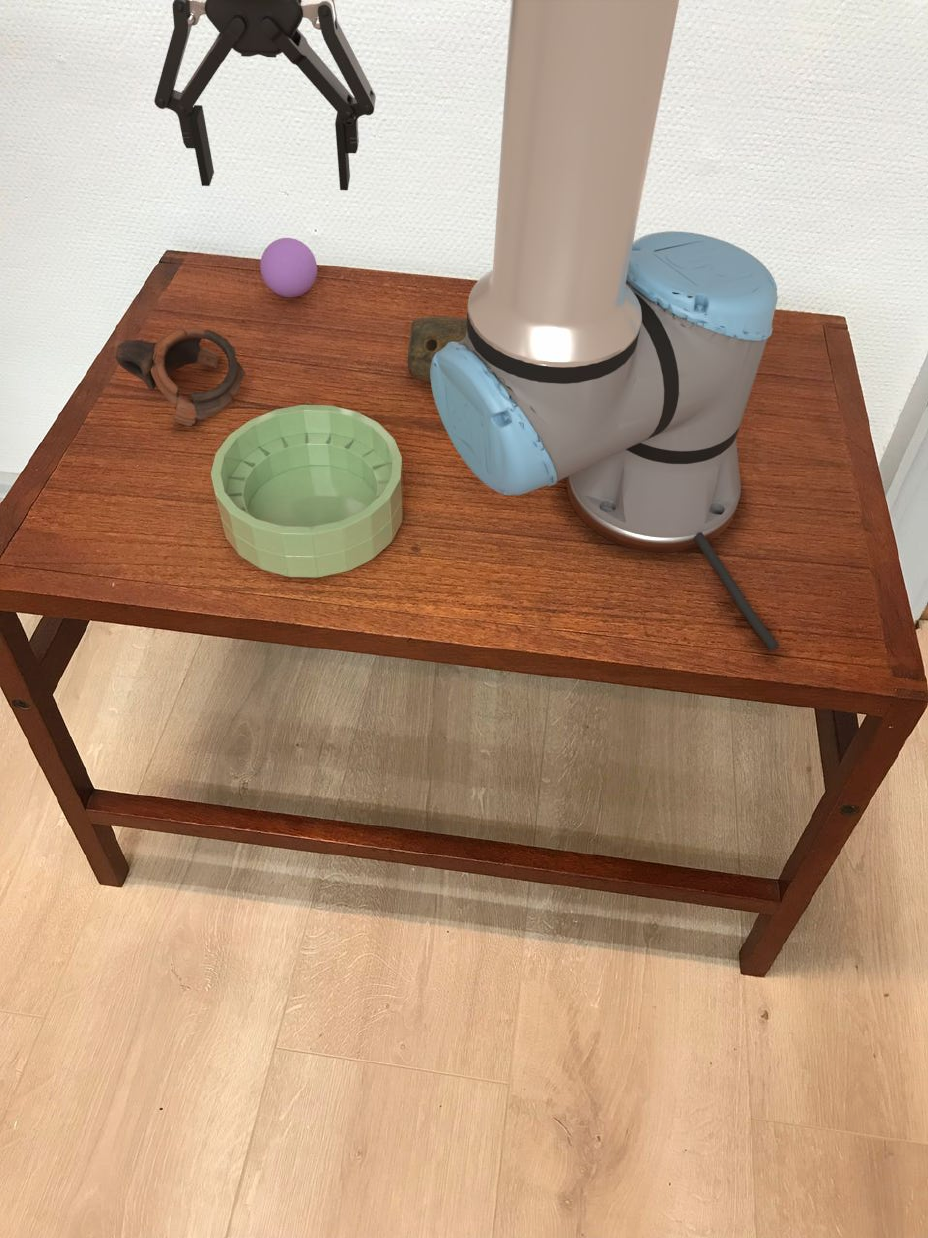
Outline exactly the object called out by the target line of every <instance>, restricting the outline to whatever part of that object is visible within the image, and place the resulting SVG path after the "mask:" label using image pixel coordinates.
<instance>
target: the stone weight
mask: <svg viewBox="0 0 928 1238" xmlns="http://www.w3.org/2000/svg"><path fill="white" fill-rule="evenodd" d="M466 324H467V318H465V317H453V316H438V315H437V316H425V317H418V318H414V320H413V321H412V322H411V327H410V334H409V341H408V350H407V369H408V373H409V375H410V377H412V378H414V379H416V380H419V381H422V382H425V383H429V384H431V380H430V368H431V363H432V359H433V357H434V355H435V354H436V353H437V352H438V351H440V350H441V349H443V348H444V347H445V346H446V345H447V344H448V343H449V342H459V341H461V340H463V339H464V338H465V336H466V329H467V325H466Z"/></svg>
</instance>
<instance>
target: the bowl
mask: <svg viewBox="0 0 928 1238" xmlns="http://www.w3.org/2000/svg"><path fill="white" fill-rule="evenodd" d="M403 472H404V467H403V456H402V454H401V452H400V449H399V446H398V444H397V442H396V440H395V438H394V437H393V436H392V435H391V434H390V433H389V432H388V430H387V429H386V428H384V427H383V426H382V425H381V424H380V423H379V422H378V421H376V420H374V419H373V418H371V417H369V416H366V415H364V414H362V413H361V412H359V411H357V410H351V409H348V408H343V407H338V406H335V405H330V404H329V405H328V404H326V405H325V404H298V405H295V406H289V407H282V408H277V409H273V410H271V411H269V412H266V413H264V414H262V415H258V416H257V417H254V418H252V419H250V420H248V421H246V422H245V423H243V424H242V425H241V426H240V427H238V428H237V429H235V430H234V431H233V432H231V433H230V434H229V435H228V436H227V438H226V439H225V440H224V441H223V443H222V444H221V446H220V447H219V448H218V450H217V451H216V452H215V455H214V459H213V463H212V467H211V471H210V478H211V482H212V488H213V492H214V495H215V499H216V500H215V501H216V504H217V508H218V512H219V517H220V520H221V524H222V528H223V532H224V536H225V539H226V540H227V541H228V543H229V544H230V545H231V547H232V548H233V549H234V551H235V552H236V553H237V554H238V556H239V557H241V558H243V559H244V560H246V561H247V562H248V563H251V565H254V566H255V567H257V568H258V569H260V570H262V571H265V572H269V573H273V574H277V575H280V576H283V577H287V578H288V577H289V578H313V579H314V578H322V577H327V576H332V575H337V574H341V573H346V572H349V571H351V570H354V569H355V568H357V567H360V566H362V565H364V564H365V563H368V562H369V561H371V560H374V559H375V558H376V557H377V556H378V555H379V554H381V552H382V551H383V550H385V549H386V548H387V547H388V546H389V545H390V544H391V543H392V542H393V541H394V539H395V537H396V535H397V533H398V530H399V529H400V527H401V525H402V523H403V519H404V517H403V516H404V505H405V499H404V498H405V497H404V473H403Z"/></svg>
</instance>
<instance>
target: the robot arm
mask: <svg viewBox="0 0 928 1238" xmlns="http://www.w3.org/2000/svg"><path fill="white" fill-rule="evenodd" d="M679 4H680V0H510V4H509V5H510V7H509V21H508V35H507V50H506V66H505V81H504V97H503V109H502V125H501V141H500V155H499V170H498V186H497V187H498V188H497V200H496V214H495V215H496V217H495V231H494V244H493V245H494V246H493V259H492V260H493V261H492V269H491V270H490V271H488V272H486V273H485V274H484V275H482V276H481V277H480V278H479V279H477V282H475V284H474V285H473V286H472V288H471V290H470V293H469V295H468V298H467V308H466V319H467V324H466V325H467V329H466V336H465V338H464V339H463V340H461V341H459V342H449V343H448V344H447V345H446V346H445V347H444V348H443V349H441V350H440V351H438V352H437V353H436V354H435V355H434V357H433V359H432V363H431V368H430V380H431V383H430V386H431V392H432V395H433V396H432V397H433V400H434V404H435V407H436V410H437V413H438V415H439V417H440V420H441V423H442V426H443V427H444V429H445V431H446V433H447V436H448V437H449V439H450V441H451V443H452V445H453V446H454V448H455V450H456V451H457V453H458V454H459V455H460V457H461V459H462V461H463V462H464V463H465V465H466V466H467V467H468V469H469V470H470V471H471V472H472V473H473V475H475V477H477V479H479V481H480V482H482V483H483V484H484V485H485V486H486V487H488V488H490V489H491V490H492V491H494V492H496V493H498V494H501V495H504V496H522V495H525V494H527V493H530V492H534V491H536V490H539V489H542V488H544V487H551V486H554V485H556V484H557V482H560V481H561V480H563V479H565V478H567V479H566V491H567V496H568V500H569V502H570V504H571V506H572V508H573V510H574V512H575V513H576V515H577V516H578V517H579V518H580V519H581V521H582V522H583V523H584V524H585V525H587V527H589V529H591V530H593V531H594V532H595V533H597V534H598V535H599V536H601V537H602V538H605V539H607V540H609V541H610V542H613V543H615V544H617V545H620V546H623V547H625V548H629V549H632V550H636V551H641V552H647V553H660V554H661V553H666V554H667V553H678V552H685V551H689V550H693V549H696V548H699V549H700V550H701V552H702V553H703V556H705V558H706V559H707V561H708V562H709V564H710V565H711V567H712V569H713V570H714V571H715V573H716V575H717V576H718V577H719V580H720V581H721V582H722V584H723V585H724V587H725V589H726V590H727V592H728V593H729V595H730V596H731V598H732V599H733V601H734V603H735V604H736V606H737V608H738V609H739V610H740V612H741V614H742V616H744V617H745V619H746V621H747V623H749V624H748V625H750V626H751V628H752V629H753V631H754V632H755V633H756V635H757V636H758V637H759V639H761V641H762V642H763V644H764V645H765V646H766V647H767V649H769V650H768V651H770V652H774V651H775V650H777V649H778V648H779V647H780V644H779V642H778V641H777V640H776V639H775V637H774V636H773V635H772V634H771V632H770V631H769V629H767V627H766V626H765V625H764V623H763V622H762V620H761V619H760V618H759V617H758V615H757V614H756V612H755V611H754V609H753V607H752V606H751V605H750V603H749V602H748V600H747V599H746V597H745V596H744V594H743V592H742V590H741V589H740V588H739V586H738V585H737V583H736V581H735V580H734V578H733V577H732V575H731V573H730V572H729V571H728V570H727V568H726V566H725V565H724V563H723V561H722V559H720V557H719V556H718V554H717V553H716V551H715V549H714V548H713V547H712V545H711V544H710V542H712V541H713V540H715V539H717V538H718V537H720V536H721V534H722V533H724V532H725V531H726V529H727V528H728V527H729V526H730V525H731V523H732V521H733V518H734V516H735V513H736V510H737V508H738V504H739V502H740V498H741V493H742V481H741V474H740V473H741V472H740V464H739V463H740V462H739V452H738V442H737V436H738V433H739V430H740V426H741V425H742V424H741V423H742V420H743V418H744V415H745V411H746V408H747V405H748V402H749V399H750V396H751V393H752V390H753V386H754V384H755V380H756V377H757V374H758V370H759V367H760V364H761V360H762V358H763V355H764V351H765V348H766V345H767V342H768V339H770V337H771V336H772V334H773V328H774V327H773V321H774V317H775V312H776V308H777V304H778V297H779V296H778V287H777V283H776V281H775V278H774V277H773V275H772V273H771V272H770V270H769V268H767V267H766V266H765V264H763V263H762V261H760V260H759V259H758V258H756V257H755V256H754V255H753V254H751V253H750V252H748V251H747V250H745V249H743V248H741V247H739V246H737V245H735V244H733V243H730V242H729V241H725V240H723V239H720V238H717V237H713V236H709V235H705V234H701V233H697V232H690V231H675V230H674V231H673V230H669V231H658V232H652V233H649V234H646V235H645V234H644V235H643V236H641V237H639V238H638V239H636V240H635V237H636V230H637V225H638V219H639V214H640V208H641V205H642V204H641V203H642V198H643V194H644V189H645V188H644V187H645V182H646V177H647V172H648V167H649V162H650V156H651V152H652V146H653V141H654V136H655V130H656V125H657V120H658V116H659V115H658V114H659V109H660V105H661V99H662V93H663V89H664V83H665V79H666V78H665V77H666V73H667V69H668V62H669V57H670V51H671V47H672V42H673V35H674V30H675V25H676V20H677V14H678V10H679ZM171 6H172V7H171V8H172V19H173V30H172V35H171V37H170V41H169V45H168V48H167V53H166V56H165V60H164V63H163V66H162V71H161V74H160V77H159V82H158V84H157V88H156V92H155V96H154V102H153V103H154V105H155V106H156V107H157V108H158V109H160V110H164V109H168V110H170V111H172V112H174V113H175V114H176V116H177V117H178V122H179V123H178V124H179V128H180V132H181V138H182V143H183V145H184V146H185V148H186V149H194V151H195V157H196V163H197V168H198V173H199V178H200V182H201V183H200V184H201V187H210V185H211V183H212V180H213V176H214V174H215V169H214V164H213V158H212V153H211V147H210V141H209V136H208V130H207V125H206V119H205V114H204V107H203V105H202V104H201V105H198V104H196V103H197V101H198V100H199V99H200V97H201V96H202V94H203V92H204V91H205V89H206V87H207V86H208V85H209V83H210V82H211V80H212V79H213V77H214V75H215V74H216V73H217V71H218V70H219V68H220V66H221V65H222V64H223V62H224V61H225V60H226V58H227V57H228V55H229V54H230V52H231V51H232V50H233V51H234V52H236V53H237V54H240V57H247V58H249V57H250V58H251V57H254V56H258V55H259V56H262V57H265V58H275V59H276V58H277V56H279V55H281V54H283V55H284V56H285V57H286V58H287V60H289V62H290V63H291V64H293V65H295V66H297V68H298V69H299V70H300V71H301V72H302V73H303V74H304V76H305V77H306V78H307V79H308V80H309V81H310V82H311V84H312V85H313V87H315V88H316V90H317V91H319V93H320V94H321V95H322V96H323V98H324V99H326V100H327V102H328V103H329V105H331V106H332V108H334V110H335V111H336V117H335V122H334V127H335V139H336V151H337V152H336V154H337V167H338V179H339V180H338V181H339V191H348V190H349V185H350V179H351V170H350V157H349V155H350V154H357V151H358V149H359V142H360V139H359V138H360V137H359V122H358V119H359V118H360V117H363V116H367V117H368V116H372V115H373V114H374V112H375V106H376V101H377V99H376V98H377V96H376V94H375V91H374V89H373V88H372V86H371V85H372V84H371V83H370V81H369V79H368V78H367V76H366V74H365V72H364V70H363V67H362V66H361V64H360V62H359V60H358V58H357V56H356V54H355V53H354V50H353V49H352V46H351V45H350V43H349V40H348V39H347V36H346V34H345V33H344V31H343V29H342V27H341V25H340V22H338V21H339V20H338V16H337V10H336V4H335V0H173V2H172V5H171ZM204 15H205V16H206V17H207V19H208V21H210V23H211V24H212V26H214V28H215V29H216V30H217V31H218V34H217V36H216V38H215V40H214V41H213V43H212V45H211V47H210V48H209V49H208V51H207V53H206V54H205V56H204V57H203V58H202V60H201V62H200V63H199V65H198V67H197V68H196V70H195V71H194V73H193V75H192V76H191V77H190V79H189V81H188V83H187V84H186V86H185V87H184V89H183V90H181V91H178V90H175V86H176V83H177V79H178V75H179V72H180V70H181V65H182V63H183V59H184V55H185V51H186V48H187V44H188V41H189V37H190V35H191V31H192V27H193V26H194V27H195V26H196V25H198V23H199V21H200V19H201V16H204ZM303 18H304V19H305V18H306V19H308V20H309V21H310V23H311V24H312V26H313V28H314V29H316V30H320V31H321V35H322V38H323V41H324V43H325V45H326V47H327V48H328V50H329V53H330V55H331V56H332V58H333V60H334V61H335V64H336V65H337V67H338V69H339V71H340V74H341V75H342V77H343V79H344V80H345V82H346V84H347V86H348V88H349V90H350V91H349V90H348V89H347V88H346V87H345V86H344V84H343V83H342V82H341V81H340V80H339V79H338V77H337V76H336V75H335V74H334V72H333V71H332V70H331V69H330V68H329V67H328V65H327V64H326V63H325V62H324V61H323V60H322V58H321V57H320V56H319V55H318V54H317V52H316V51H315V50H314V49H313V48H312V47H311V45H310V44H309V42H308V40H307V38H306V37H305V35H304V34H303V33H302V32H301V31H300V30H299V29H298V28H299V27H300V25H301V23H302V22H303ZM350 92H351V93H350Z"/></svg>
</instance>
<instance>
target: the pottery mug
mask: <svg viewBox="0 0 928 1238" xmlns="http://www.w3.org/2000/svg"><path fill="white" fill-rule="evenodd" d="M202 340H206V341H209V342H212V343H214V344H215V345H217V346H218V347H219V348H220V349H221V350H222V352H223V353H224V354H225V357H226V358H227V363H228V370H227V374H226V376H225V378H224V379H223V380H222V382H221V383H219V384H218V385H217V386H216V387H214V388H212V389H210V390H206V391H199V392H196V391H191V392H190V397H191V398H189V397H185V396H183V395H182V394H181V393H180V386H178V385H177V383H175V382H174V381H173V380H172V379H171V377H170V376H171V375H172V374H174V372H175V371H177V370H179V369H181V368H183V367H185V366H187V365H192V364H198V365H203V366H208V367H211V368H213V369H217V368H218V367H219V359H220V353H218V352H216V351H214V350H211V349H209V348H207V347H204V346H201V342H202ZM116 348H117V349H116V352H115V356H114V357H115V358H114V359H115V360H116V361H117V363H118V364H119V366H120V367H122V369H124V370H125V371H126V372H128V373H130V374H131V375H133V376H135V377H137V378H139V380H142V382H143V383H144V384H145V385H146V388H148V390H150V391H154V390H155V389H156V386H157V388H158V390H159V391H160V392H161V394H162V395H163V396H164V398H165V399H166V400H167V401H169V403H171V404H172V405H173V406H175V414H174V416H173V418H174V421H175V422H176V423H177V424H179V425H183V426H187V427H193V425H195V424H196V422H197V421H200V422H201V421H204V420H206V419H208V418H210V417H213V416H214V415H216V414H217V413H220V412H221V411H223V410H224V409H226V408H227V407H229V406H230V405H231V404H232V403H233V402H234V399H233V397H235V396H238V394H239V392H240V389H241V385H242V382H243V379H244V377H245V376H246V374H247V371H246V370H245V368H244V367H243V365H241V363H240V362H239V361H238V358H237V356H236V355H237V352H236V349H235V347H234V345H232V344H231V343H230V342H229V340H228V339H227V338H226V337H224V336H222V335H221V334H219V333H217V332H215V331H213V330H211V329H205V328H202V327H201V328H200V327H185V328H183V329H182V328H181V329H177V330H175V331H173V332H171V333H169V334H167V335H166V336H165V337H163V338H161V339H160V340H158V341H157V342H149V341H146V340H145V341H144V340H140V339H136V340H135V339H129V340H127V339H126V340H125V341H124V340H123V341H121V343H119V344H117V347H116Z"/></svg>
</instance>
